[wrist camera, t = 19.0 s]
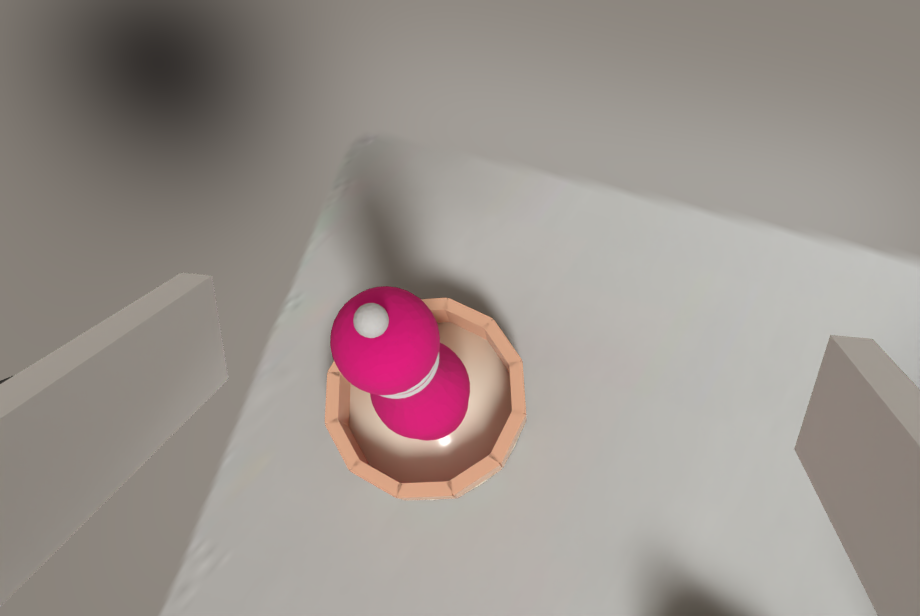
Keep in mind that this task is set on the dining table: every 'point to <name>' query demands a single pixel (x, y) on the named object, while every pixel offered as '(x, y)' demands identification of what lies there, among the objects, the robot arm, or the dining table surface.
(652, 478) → the dining table surface
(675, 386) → the dining table surface
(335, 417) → the terracotta bowl
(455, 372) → the pepper mill
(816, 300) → the dining table surface
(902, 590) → the robot arm
